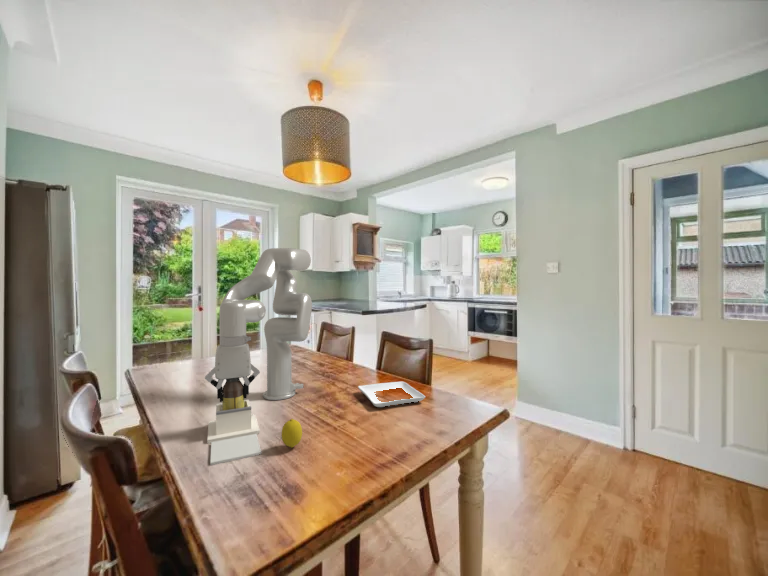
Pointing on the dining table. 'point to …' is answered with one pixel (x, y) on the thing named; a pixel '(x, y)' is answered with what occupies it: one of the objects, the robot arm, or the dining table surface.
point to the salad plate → (372, 388)
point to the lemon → (291, 433)
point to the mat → (234, 449)
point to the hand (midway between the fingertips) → (233, 398)
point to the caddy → (232, 423)
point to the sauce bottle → (233, 394)
